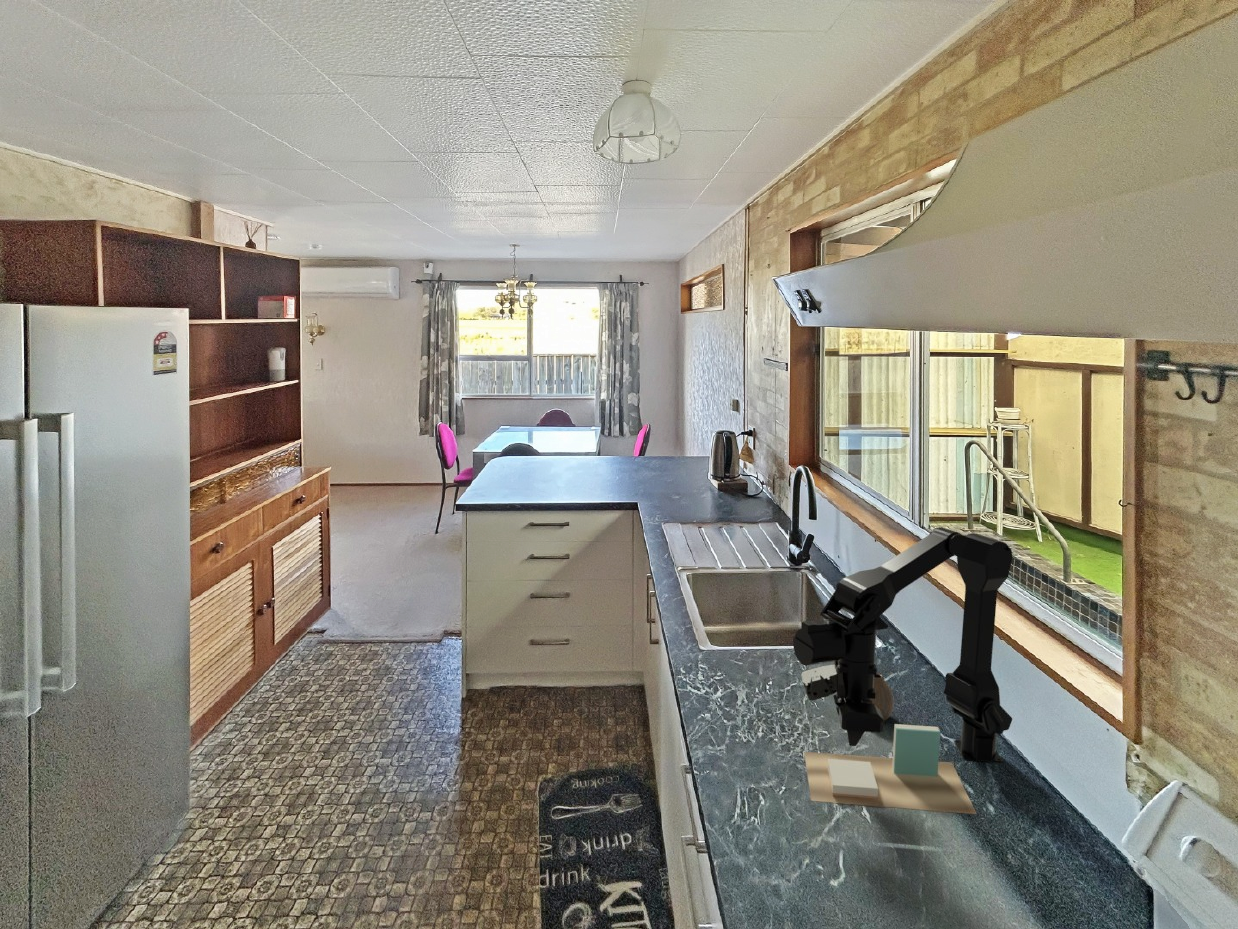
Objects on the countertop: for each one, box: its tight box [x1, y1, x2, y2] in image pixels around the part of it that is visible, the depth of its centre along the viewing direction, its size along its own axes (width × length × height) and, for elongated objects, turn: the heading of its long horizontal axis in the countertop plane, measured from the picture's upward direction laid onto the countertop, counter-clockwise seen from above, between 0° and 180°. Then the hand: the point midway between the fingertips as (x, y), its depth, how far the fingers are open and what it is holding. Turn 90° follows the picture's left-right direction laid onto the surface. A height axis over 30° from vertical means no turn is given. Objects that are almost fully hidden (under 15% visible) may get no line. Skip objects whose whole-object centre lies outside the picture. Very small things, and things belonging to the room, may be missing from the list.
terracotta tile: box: [827, 759, 878, 799], centre depth 131 cm, size 2×7×8 cm
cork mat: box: [803, 751, 977, 815], centre depth 132 cm, size 15×25×1 cm, turn 81°
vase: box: [870, 673, 895, 722], centre depth 153 cm, size 7×7×9 cm
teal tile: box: [892, 723, 941, 776], centre depth 134 cm, size 2×7×8 cm, turn 81°
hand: (852, 745), depth 131 cm, fingers closed
